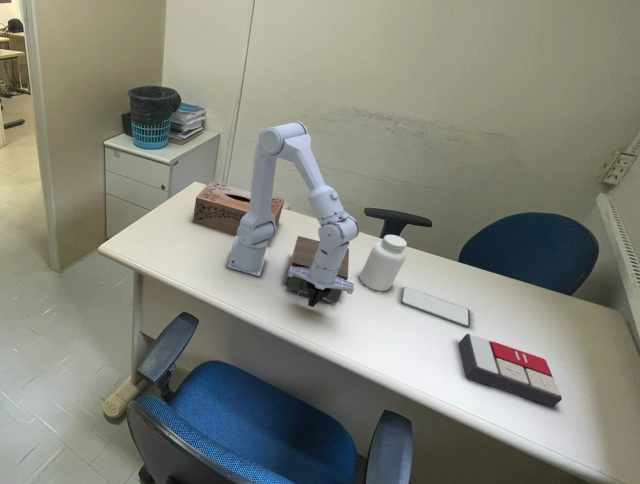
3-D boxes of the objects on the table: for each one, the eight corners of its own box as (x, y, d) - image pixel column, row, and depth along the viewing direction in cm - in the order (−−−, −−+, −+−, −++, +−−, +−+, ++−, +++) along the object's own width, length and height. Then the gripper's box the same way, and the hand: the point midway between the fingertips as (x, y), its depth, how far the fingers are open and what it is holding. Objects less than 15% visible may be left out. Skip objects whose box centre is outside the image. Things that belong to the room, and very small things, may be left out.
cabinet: (338, 300, 107) (347, 277, 102) (285, 284, 112) (292, 262, 107) (340, 270, 117) (349, 248, 112) (291, 257, 122) (298, 235, 117)
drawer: (335, 315, 101) (343, 297, 97) (284, 299, 105) (289, 281, 102) (338, 275, 114) (345, 258, 110) (292, 262, 118) (298, 245, 115)
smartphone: (470, 326, 99) (401, 301, 106) (469, 327, 99) (400, 302, 106) (469, 309, 104) (403, 286, 111) (468, 311, 104) (403, 288, 111)
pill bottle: (394, 293, 109) (417, 250, 101) (363, 289, 111) (383, 246, 102) (385, 275, 116) (405, 233, 107) (355, 271, 117) (374, 229, 109)
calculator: (566, 398, 79) (477, 365, 85) (551, 409, 82) (465, 377, 87) (548, 357, 87) (467, 330, 93) (535, 369, 90) (458, 342, 95)
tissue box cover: (277, 224, 137) (284, 199, 132) (267, 245, 127) (273, 219, 121) (208, 204, 148) (211, 180, 143) (192, 222, 138) (196, 197, 132)
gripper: (292, 263, 93) (279, 304, 101) (360, 282, 88) (341, 324, 95) (296, 247, 98) (283, 287, 106) (360, 264, 93) (342, 305, 101)
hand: (311, 303), depth 101 cm, fingers closed, pressing on drawer
